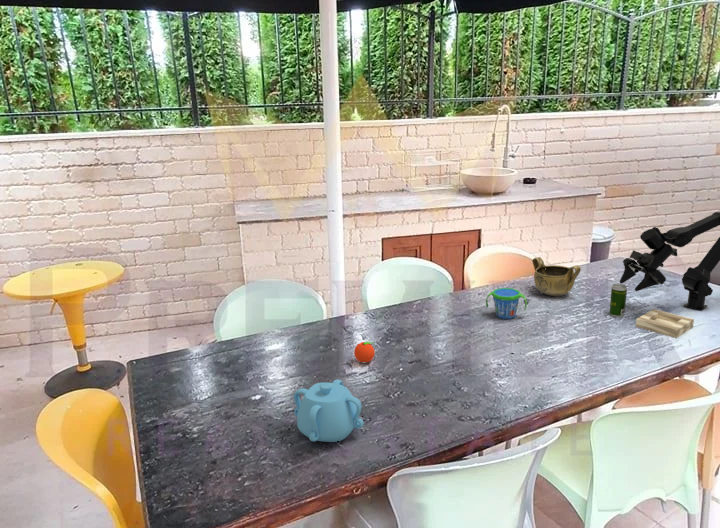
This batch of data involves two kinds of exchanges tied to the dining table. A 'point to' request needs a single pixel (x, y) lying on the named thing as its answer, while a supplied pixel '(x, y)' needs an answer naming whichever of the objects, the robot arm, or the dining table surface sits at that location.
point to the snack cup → (506, 302)
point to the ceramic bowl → (554, 277)
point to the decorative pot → (327, 412)
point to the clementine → (364, 352)
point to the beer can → (618, 300)
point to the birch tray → (665, 323)
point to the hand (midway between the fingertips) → (627, 286)
